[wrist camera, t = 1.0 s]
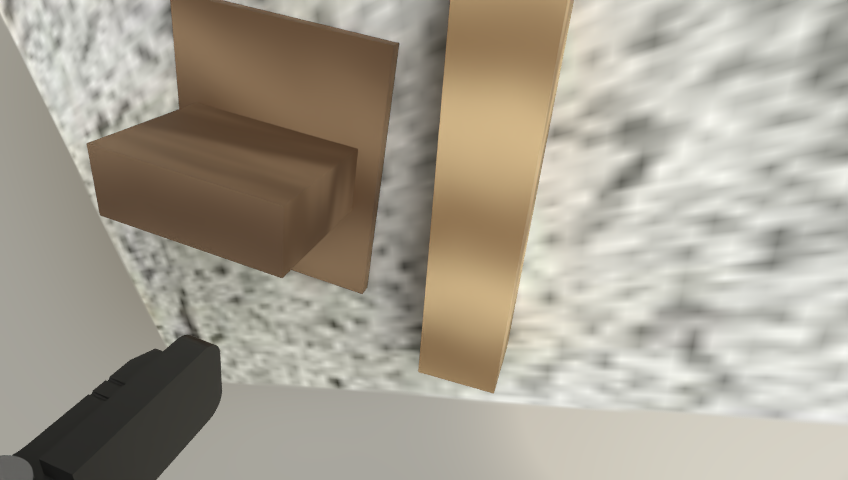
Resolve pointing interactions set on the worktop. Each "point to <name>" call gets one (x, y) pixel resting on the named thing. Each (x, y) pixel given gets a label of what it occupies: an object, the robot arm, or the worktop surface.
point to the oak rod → (487, 178)
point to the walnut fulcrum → (260, 144)
